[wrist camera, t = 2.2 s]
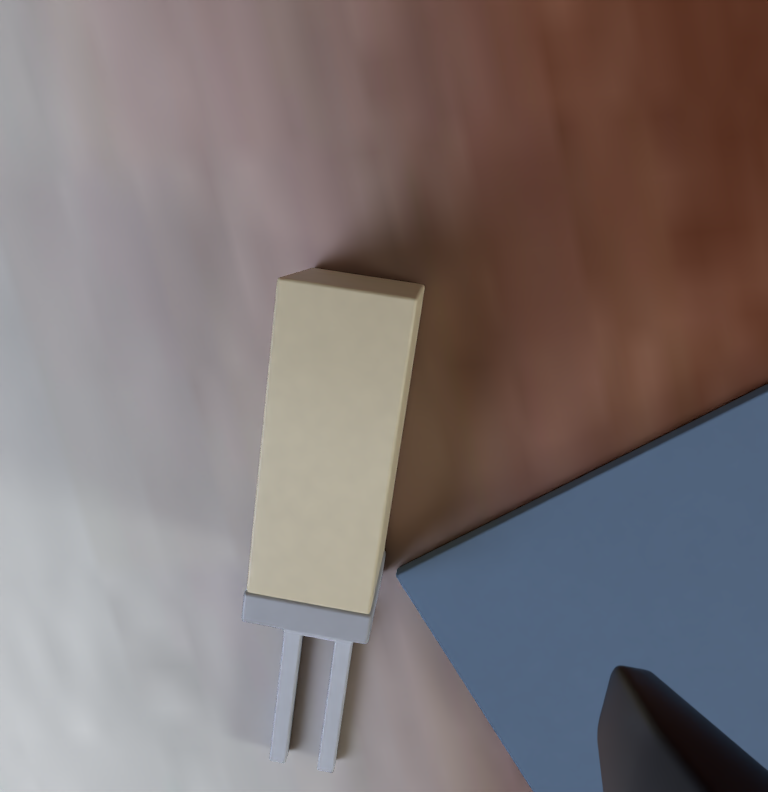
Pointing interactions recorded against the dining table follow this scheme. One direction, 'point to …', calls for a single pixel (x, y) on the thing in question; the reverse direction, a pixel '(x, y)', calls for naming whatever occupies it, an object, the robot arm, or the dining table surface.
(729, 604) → the placemat
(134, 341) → the dining table surface
